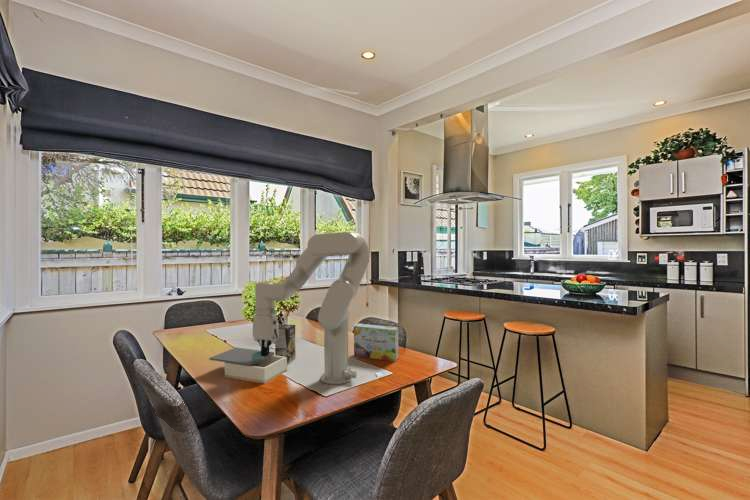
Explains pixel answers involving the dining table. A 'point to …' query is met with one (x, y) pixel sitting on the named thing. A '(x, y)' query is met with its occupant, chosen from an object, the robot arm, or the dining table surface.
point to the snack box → (376, 342)
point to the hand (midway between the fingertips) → (265, 355)
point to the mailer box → (258, 369)
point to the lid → (240, 356)
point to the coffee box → (286, 342)
